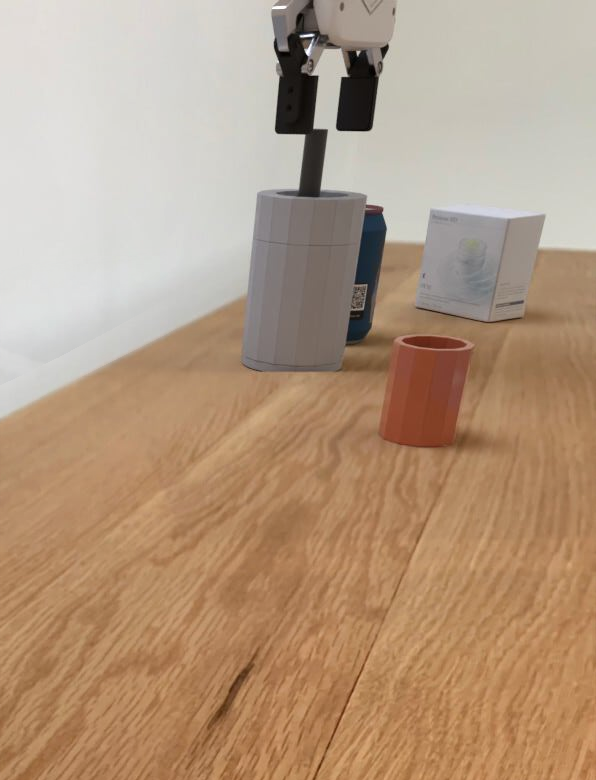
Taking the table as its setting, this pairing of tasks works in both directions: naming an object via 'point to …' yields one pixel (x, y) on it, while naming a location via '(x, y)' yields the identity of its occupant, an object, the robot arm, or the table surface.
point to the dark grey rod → (313, 163)
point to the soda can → (367, 274)
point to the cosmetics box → (478, 261)
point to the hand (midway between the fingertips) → (324, 132)
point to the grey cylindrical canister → (301, 280)
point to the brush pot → (425, 390)
